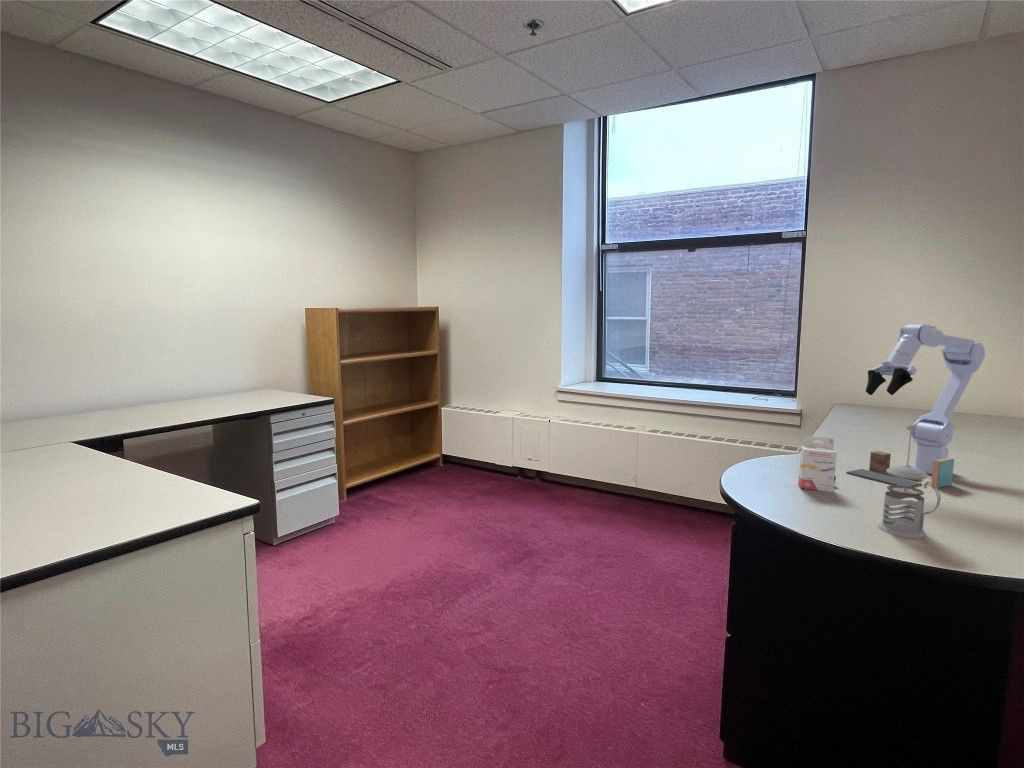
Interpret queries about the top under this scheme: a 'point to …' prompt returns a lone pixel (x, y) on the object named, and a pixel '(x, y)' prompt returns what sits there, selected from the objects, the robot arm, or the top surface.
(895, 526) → the french press
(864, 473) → the tool mat
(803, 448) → the ink cartridge box
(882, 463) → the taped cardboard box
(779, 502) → the top surface
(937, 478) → the tile
